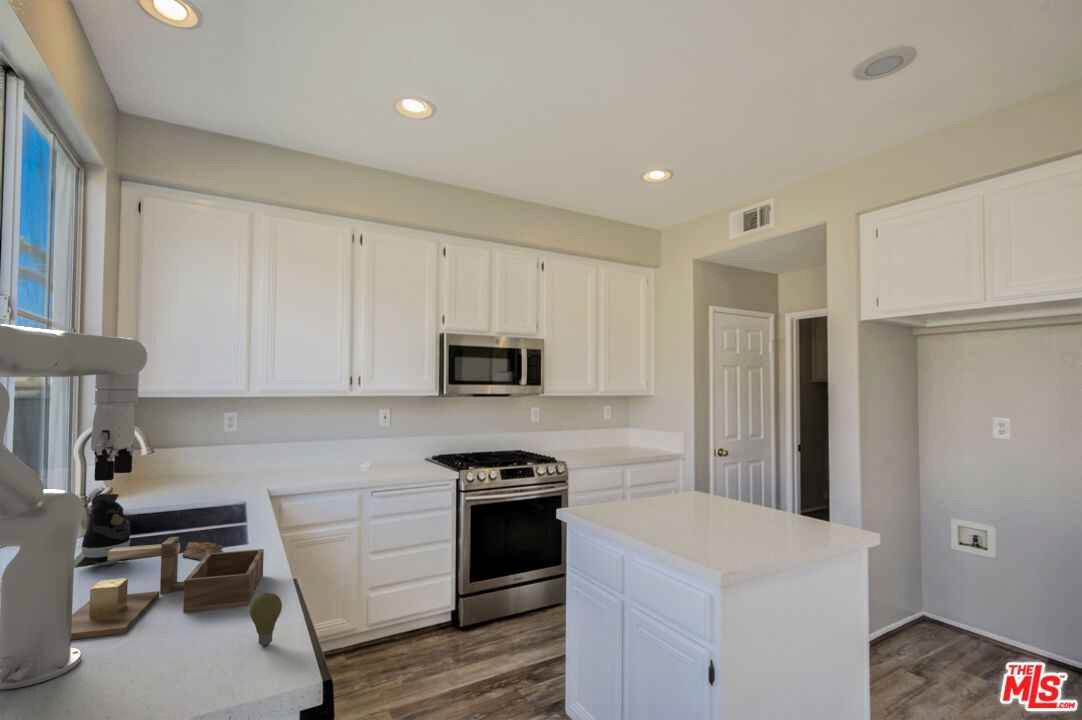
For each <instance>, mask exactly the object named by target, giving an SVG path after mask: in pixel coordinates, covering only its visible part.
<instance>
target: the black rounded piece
mask: <svg viewBox="0 0 1082 720" xmlns="http://www.w3.org/2000/svg"><path fill="white" fill-rule="evenodd" d="M118 498H119V493H118V494H117V493H109V492H108V493H107V492H106V493H105V492H104V493H99V494H97V495H95V496H94V497H93V498H92V500H91V506H92V508H91V511H90V513H89V514H87V515H88V517H89V523H88V526H87V529H86V530H85V533H84V535H83V538H82V542H81V546H80V549H81V555H82V556H83V557H85V558H86V559H87V560H89V562H91V563H93V564H94V563H95V564H96V565H98V566H110V565H112V564H114V563H117V562H119V561H120V560H121V559H116V560H108V551H110V550H111V549H113V548H119V547H130V544H131V536H130V535H131V526H130V525H131V522H130V520H128V519H127V518H126V516H125V514H124V507H123V506H122V505H121V504H120V503H119V502H116V500H117V499H118Z"/></svg>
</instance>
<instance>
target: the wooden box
mask: <svg viewBox="0 0 1082 720" xmlns="http://www.w3.org/2000/svg"><path fill="white" fill-rule="evenodd" d="M179 537H180V536H171V537H168V538H167V539H166V540H164V541H163V542H162V543H161V544H162V549H161V556H160V558H161V560H160V581H159V582H160V584H159V585H160V586H159V595H161V594H169V593H171V592H172V591H181V590H182V589H183V604H182V605H183V609H182V610H183V613H185V614H186V613H193V612H194V613H195V612H201V611H203V612H204V611H210V610H220V609H231V608H238V607H240V608H241V607H247V606H250V605H251V602H252V600H253V598H254V596H255V594H256V592H255V591H257V590H258V587H259V585H260V583H261V581H262V579H261V578H263V577H262V576H264V557H265V556H264V555H265V552H264V551H265V550H264V548H261V549H259V548H258V549H247V550H246V549H245V550H235V551H234V550H233V551H223V552H221V553H208V554H207V555H206V556H205V557H204V558H203V559H202V560H200V561H199V563H198V564H197V565H196V566H195V567H194V569H193V570H192V571H191V572H190V573H189V575H188V576H187V577H186V578H185V579H184V580H183V581H178V573H179V572H178V569H179V568H178V567H179V552H178V553H177V554H176V555H172V546H173V544H174V543H180V542H179ZM260 580H261V581H260ZM259 582H260V583H259ZM256 589H257V590H256ZM254 593H255V594H254ZM253 595H254V596H253Z"/></svg>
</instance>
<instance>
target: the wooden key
mask: <svg viewBox="0 0 1082 720" xmlns="http://www.w3.org/2000/svg"><path fill="white" fill-rule="evenodd" d="M161 549H162V543H161V544H160V543H159V544H148V545H147V544H146V545H135V546H134V545H133V546H129V547H119V548H113V549H111V550H110V551H108V560H116V559H120V560H125V559H138V558H152V557H161ZM179 552H181V542H178V543H174V544H173V546H172V555H176V554H177V553H178V554H179Z"/></svg>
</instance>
